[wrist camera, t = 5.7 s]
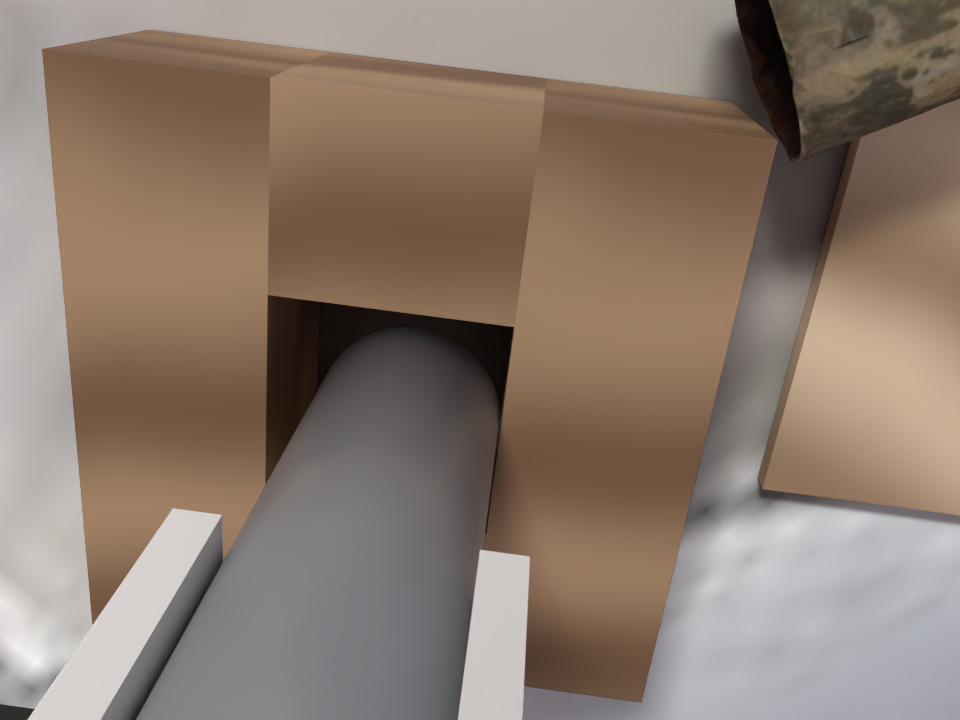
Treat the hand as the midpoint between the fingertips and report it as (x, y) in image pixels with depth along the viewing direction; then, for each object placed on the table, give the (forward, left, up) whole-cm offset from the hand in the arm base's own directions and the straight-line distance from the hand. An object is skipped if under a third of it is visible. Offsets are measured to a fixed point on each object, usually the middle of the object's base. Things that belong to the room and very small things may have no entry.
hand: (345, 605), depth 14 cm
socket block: (0, -1, -11) cm, 11 cm away
